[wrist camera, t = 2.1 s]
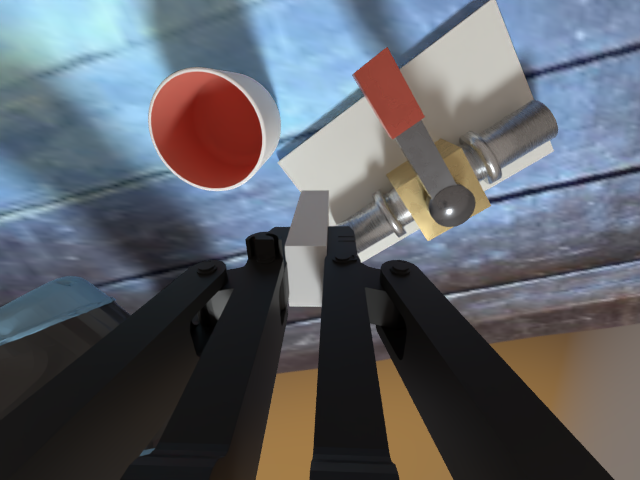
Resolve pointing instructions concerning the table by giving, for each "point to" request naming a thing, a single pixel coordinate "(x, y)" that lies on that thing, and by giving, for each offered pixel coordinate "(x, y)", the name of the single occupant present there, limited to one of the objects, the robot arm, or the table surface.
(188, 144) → the cup
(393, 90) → the lever
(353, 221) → the valve
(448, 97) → the board
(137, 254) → the table surface
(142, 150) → the table surface
